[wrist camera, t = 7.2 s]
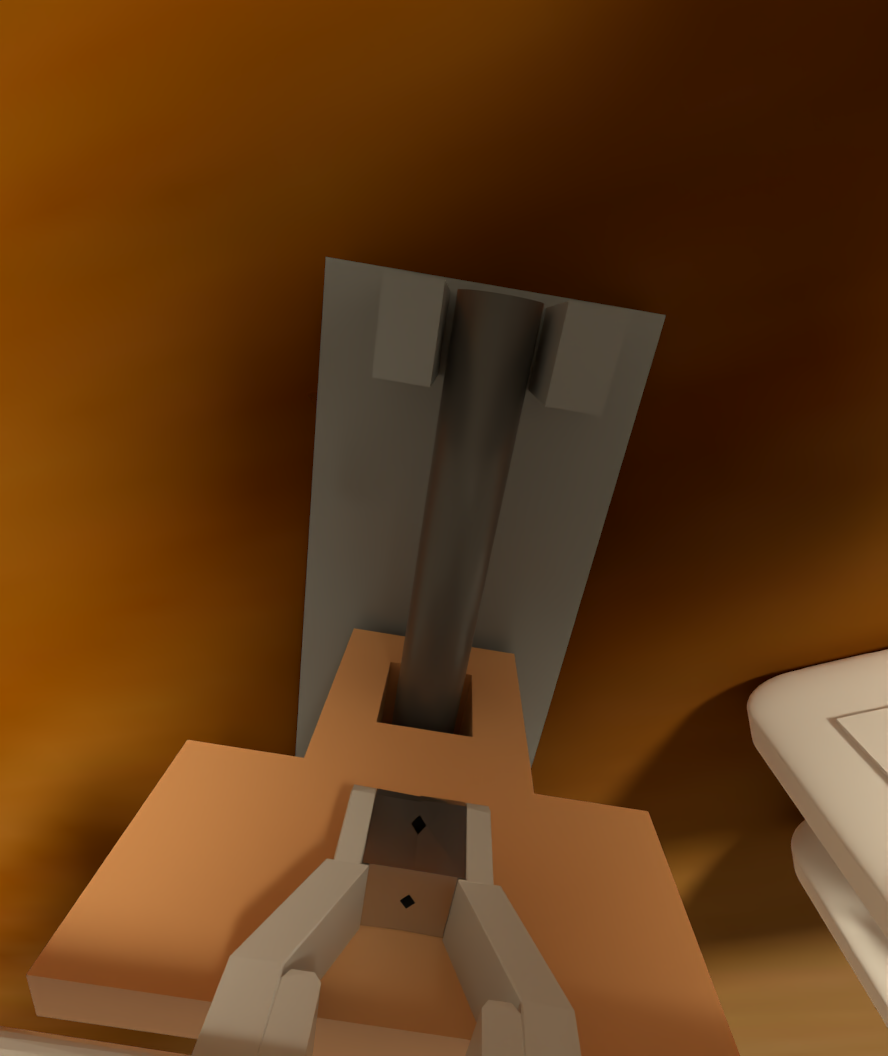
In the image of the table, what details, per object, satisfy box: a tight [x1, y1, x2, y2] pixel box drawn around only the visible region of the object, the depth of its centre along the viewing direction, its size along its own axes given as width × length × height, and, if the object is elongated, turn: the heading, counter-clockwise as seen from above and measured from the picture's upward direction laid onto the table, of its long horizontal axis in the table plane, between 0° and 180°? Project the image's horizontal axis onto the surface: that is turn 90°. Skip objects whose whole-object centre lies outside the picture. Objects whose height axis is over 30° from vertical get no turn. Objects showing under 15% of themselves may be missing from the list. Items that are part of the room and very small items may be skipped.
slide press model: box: [295, 257, 666, 767], centre depth 17 cm, size 24×10×7 cm, turn 171°
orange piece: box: [26, 628, 740, 1056], centre depth 14 cm, size 6×12×11 cm, turn 81°
